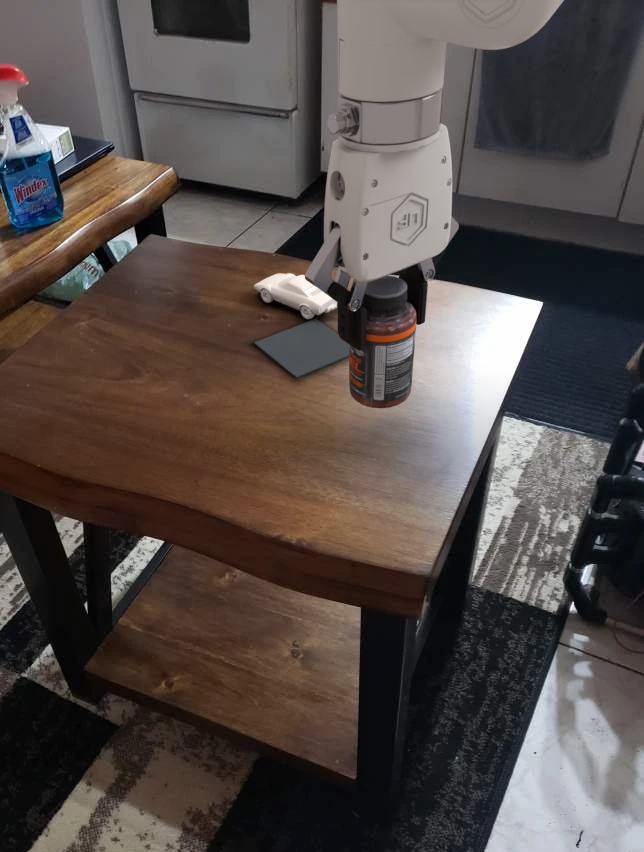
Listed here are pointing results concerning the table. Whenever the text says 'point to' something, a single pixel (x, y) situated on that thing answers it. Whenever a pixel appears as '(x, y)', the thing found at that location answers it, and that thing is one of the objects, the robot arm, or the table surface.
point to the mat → (305, 348)
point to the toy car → (296, 294)
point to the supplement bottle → (384, 346)
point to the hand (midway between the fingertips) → (382, 329)
